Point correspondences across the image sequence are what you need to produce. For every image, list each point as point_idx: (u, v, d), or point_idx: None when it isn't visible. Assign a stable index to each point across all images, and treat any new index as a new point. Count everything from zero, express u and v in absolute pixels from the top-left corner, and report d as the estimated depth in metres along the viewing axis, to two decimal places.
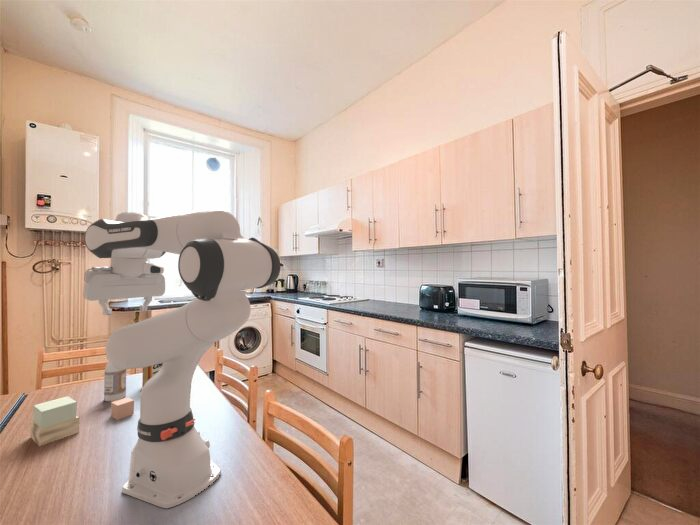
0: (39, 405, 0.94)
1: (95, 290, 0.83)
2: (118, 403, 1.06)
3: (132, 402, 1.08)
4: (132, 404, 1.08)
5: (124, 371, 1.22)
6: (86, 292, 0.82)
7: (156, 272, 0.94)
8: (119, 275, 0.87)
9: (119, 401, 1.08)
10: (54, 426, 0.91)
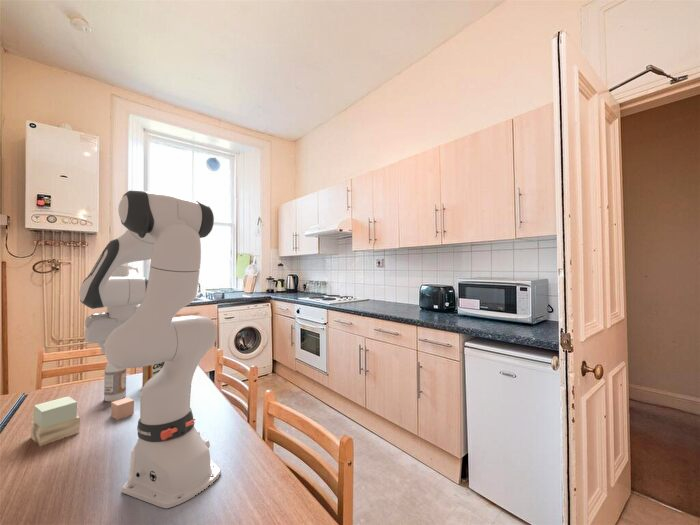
0: (40, 405, 0.94)
1: (94, 334, 0.99)
2: (118, 403, 1.06)
3: (132, 402, 1.08)
4: (132, 404, 1.08)
5: (124, 371, 1.22)
6: (87, 336, 0.98)
7: None
8: (114, 319, 1.04)
9: (119, 401, 1.08)
10: (54, 426, 0.91)
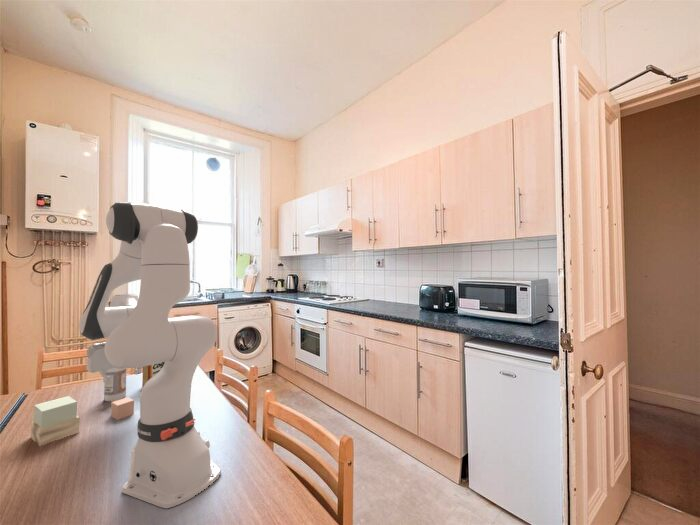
0: (40, 405, 0.94)
1: (96, 364, 1.00)
2: (118, 403, 1.06)
3: (132, 402, 1.08)
4: (132, 404, 1.08)
5: (124, 371, 1.22)
6: (89, 366, 0.99)
7: None
8: None
9: (119, 401, 1.08)
10: (54, 426, 0.91)
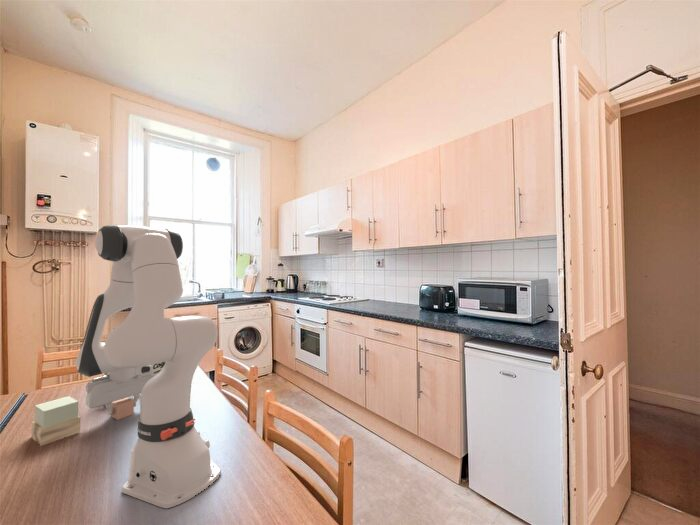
0: (41, 405, 0.94)
1: (95, 399, 1.00)
2: (118, 403, 1.06)
3: (132, 402, 1.08)
4: (132, 404, 1.08)
5: None
6: (88, 401, 0.99)
7: (146, 371, 1.12)
8: (115, 381, 1.04)
9: (119, 401, 1.08)
10: (55, 426, 0.91)
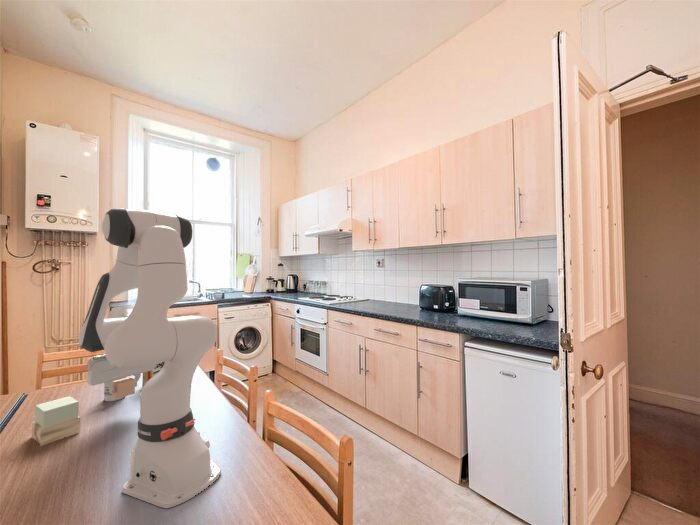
0: (41, 405, 0.94)
1: (96, 376, 1.00)
2: (119, 382, 1.06)
3: (133, 381, 1.08)
4: (133, 383, 1.08)
5: None
6: (89, 379, 0.99)
7: None
8: None
9: (120, 380, 1.08)
10: (55, 426, 0.91)
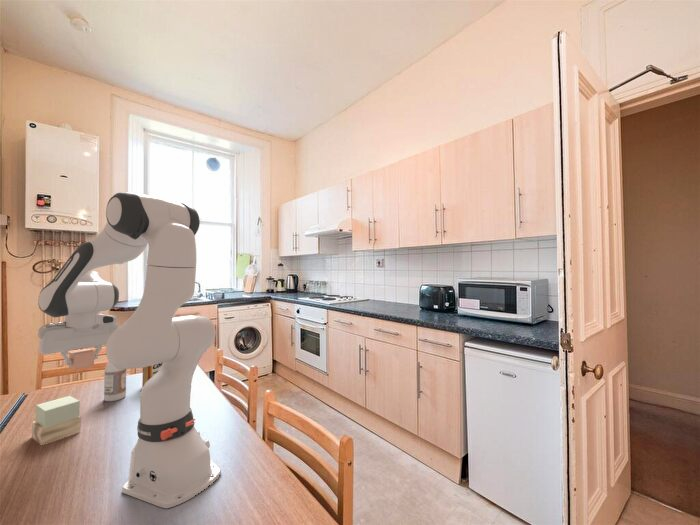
0: (42, 405, 0.94)
1: (48, 345, 0.92)
2: (77, 353, 0.98)
3: (92, 353, 1.00)
4: (92, 355, 1.00)
5: (124, 371, 1.22)
6: (40, 347, 0.91)
7: (109, 322, 1.04)
8: (72, 328, 0.97)
9: (78, 351, 1.00)
10: (55, 426, 0.91)
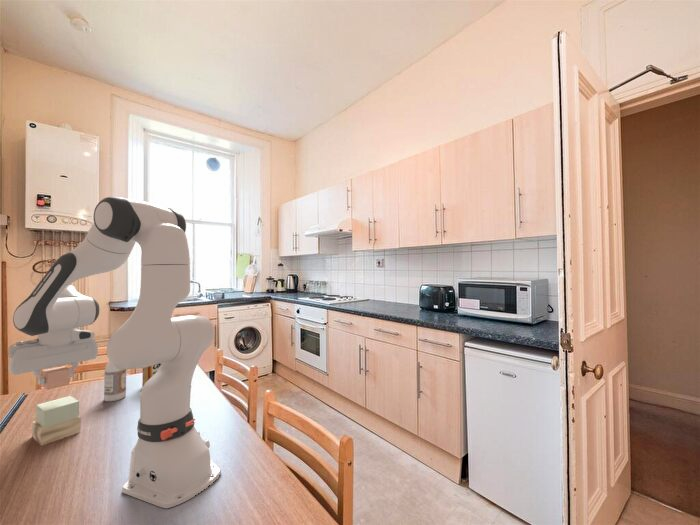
0: (42, 404, 0.94)
1: (19, 364, 0.87)
2: (50, 371, 0.93)
3: (67, 371, 0.96)
4: (67, 373, 0.96)
5: (124, 371, 1.22)
6: (10, 367, 0.86)
7: (86, 337, 0.99)
8: (45, 346, 0.92)
9: (52, 369, 0.95)
10: (55, 426, 0.92)
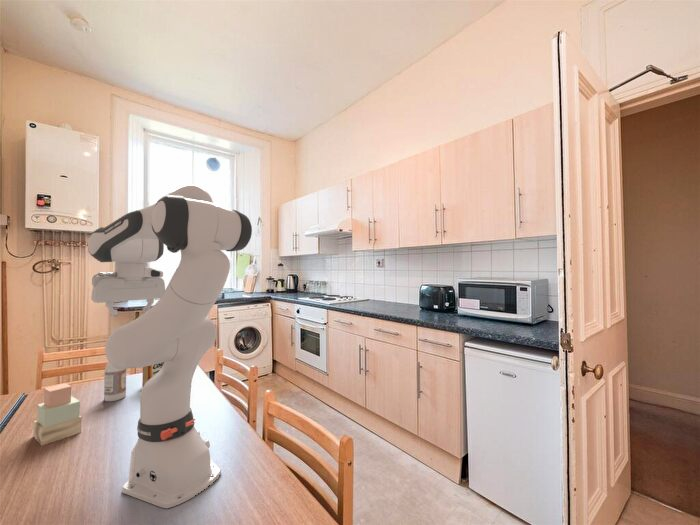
0: (43, 404, 0.94)
1: (102, 293, 0.92)
2: (52, 389, 0.93)
3: (69, 388, 0.96)
4: (69, 391, 0.96)
5: (124, 371, 1.22)
6: (94, 295, 0.91)
7: (156, 276, 1.04)
8: (123, 279, 0.97)
9: (54, 387, 0.95)
10: (56, 426, 0.92)
